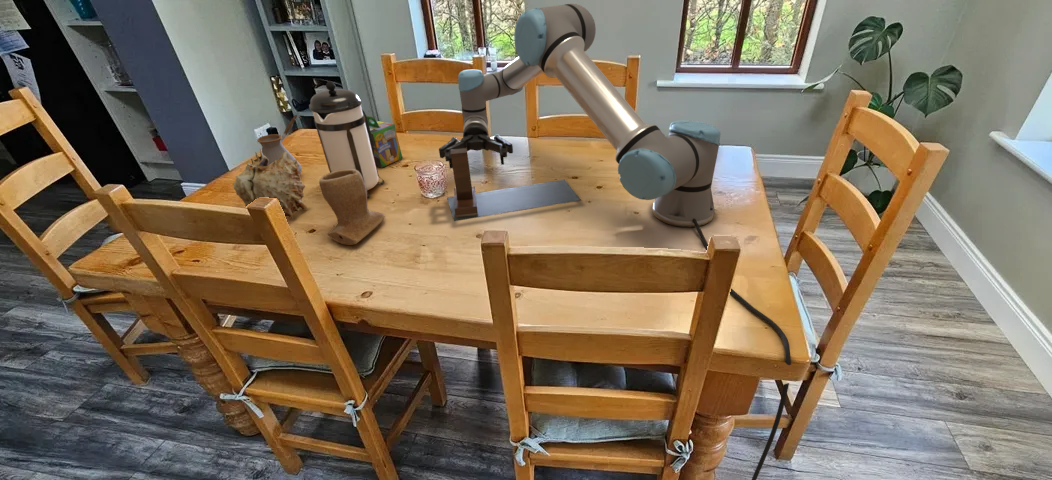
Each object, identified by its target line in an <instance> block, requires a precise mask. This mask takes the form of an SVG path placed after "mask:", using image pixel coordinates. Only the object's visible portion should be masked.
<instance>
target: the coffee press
mask: <svg viewBox="0 0 1052 480" xmlns="http://www.w3.org/2000/svg"><path fill="white" fill-rule="evenodd" d="M336 87H337V85H336V84H335V82H333V81H327V83H326V84H325V88H326V89H327V90H323V91H319V92H317V93H315V94H313V96H312V97H311V98H310V101H309V102H310V104H309V105H308V108H309V110H310V111H311V113H312V116H313V118H314V119H313V122H314V126H315V128H316V132H317V135H318V138H319V141H320V145H321V148H322V151H323V155H324V159H325V161H326V165H327V168H328V171H329V173H331V172H335V171H339V170H345V169H355V170H357V171H359V172H360V173H361V175H362V177H363V180H364V182H365V185H366V190H367V199H369V198H370V194H369V190H371V189H373V188H374V187H375V186H377V184H378V185H381V186H382V185H384V184H385V180H384V179H383V178H381V177H380V175H379V171H378V167H377V166H376V163H375V159H374V145H373V140H372V136H371V132H370V128H369V124H368V120H367V117H366V116H367V114H366V112H365V111H364V109H363V108H362V104H363V103H362V102H363V101H362V99H361V98H360V97H359V96H358V94H357V93H355V92H354V91H352V90H349V89H345V88H344V89H343V88H336ZM379 179H380V180H381V182H379Z"/></svg>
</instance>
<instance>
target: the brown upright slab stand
mask: <svg viewBox="0 0 1052 480" xmlns="http://www.w3.org/2000/svg"><path fill="white" fill-rule="evenodd" d="M468 154H469V153H468V151H467V148H463V149H451V159H452V166H453V168H452V173H453V178H454V179H453V180H454V185H455V187H454V189H453V191H454V193H453V194H454V196H455V213H456V217H465V216H475V215H478V211H477V202H476V193H477V192H476V186H473V185H472V177H471V170H470V162H469V155H468Z"/></svg>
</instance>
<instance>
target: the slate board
mask: <svg viewBox="0 0 1052 480" xmlns="http://www.w3.org/2000/svg"><path fill="white" fill-rule="evenodd" d="M475 193H476V202H477V211H478V215H475V216H465V217H456V213H455V196H447V197H446V200H447V203H448V207H449V208H450V213H451V216H452V219H453V222H459V221H464V220H471V219H477V218H482V217H488V216H496V215H501V214H507V213H508V214H509V213H514V212H519V211H524V210H525V211H526V210H530V209H531V210H532V209H537V208H543V207H549V206H555V205H563V204H566V203H573V202H580V201H582V199H581V197H580V196H579V195H578V194H577V193H576V191H575V190H574V189H573V188H572V186H571V185H570V184H569V183H568V182H567V180H566V179H558V180H553V181H546V182H539V183H532V184H526V185H520V186H513V187H505V188H500V189H494V190H488V191H487V190H486V191H480V192H475Z"/></svg>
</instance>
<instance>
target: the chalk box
mask: <svg viewBox="0 0 1052 480" xmlns="http://www.w3.org/2000/svg"><path fill="white" fill-rule="evenodd" d="M366 117H367V120H368V124H369V128H370V132H371V136H372V140H373V145H374V159H375V163H376V167H377V168H380V169H383V168H385V167H386V166H389V165H391V164H393V163H395V162H397V161H400V160H402V159H403V153H402V149H401V145H400V141H399V137H398V133H397V129H396V124H395V123H391V122H386V121H380V120H377V119H376V117H374V116H370V115H366ZM370 120H371V121H370Z"/></svg>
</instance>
